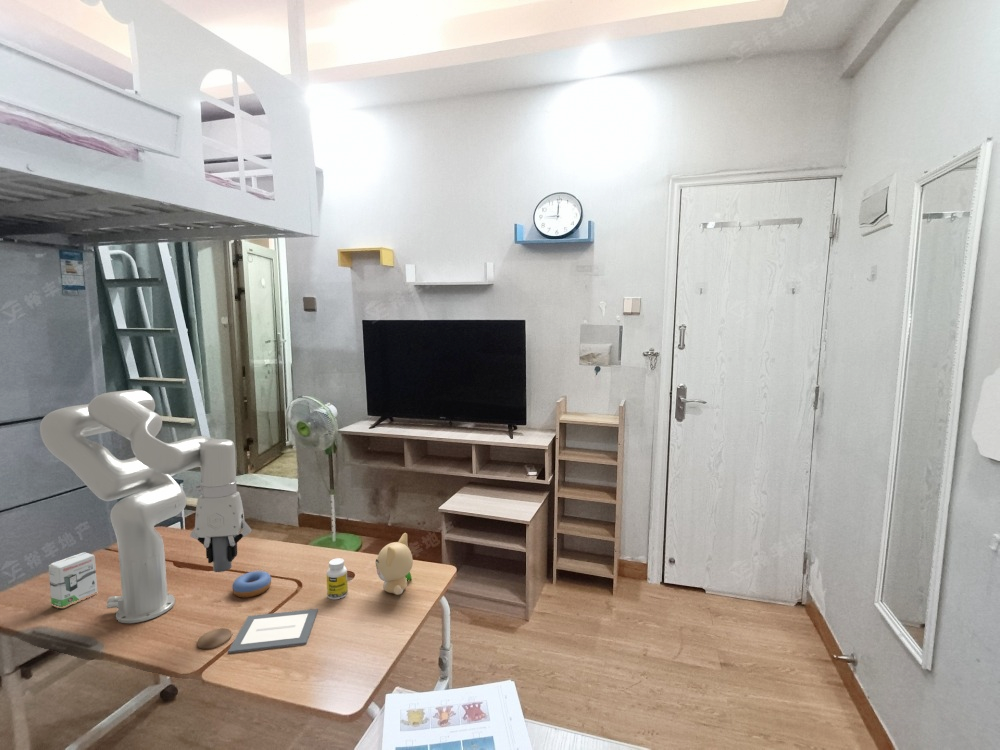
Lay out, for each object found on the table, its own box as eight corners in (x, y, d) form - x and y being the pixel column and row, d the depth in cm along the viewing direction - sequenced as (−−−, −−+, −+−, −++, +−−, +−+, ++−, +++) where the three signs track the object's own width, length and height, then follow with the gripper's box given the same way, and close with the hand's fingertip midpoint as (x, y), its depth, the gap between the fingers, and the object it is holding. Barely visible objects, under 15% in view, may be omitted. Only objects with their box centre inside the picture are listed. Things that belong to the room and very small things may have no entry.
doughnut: (260, 576, 144) (258, 562, 144) (279, 587, 139) (277, 573, 138) (226, 594, 136) (224, 579, 136) (244, 607, 131) (242, 592, 130)
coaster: (192, 650, 111) (192, 648, 111) (205, 632, 118) (204, 630, 118) (225, 647, 112) (224, 644, 112) (235, 629, 119) (235, 626, 119)
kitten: (393, 574, 146) (391, 526, 144) (423, 578, 143) (422, 529, 142) (366, 600, 131) (364, 547, 130) (399, 606, 129) (398, 552, 127)
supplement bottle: (326, 601, 131) (325, 567, 130) (328, 591, 136) (326, 558, 135) (347, 598, 132) (346, 564, 131) (348, 588, 138) (346, 555, 137)
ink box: (61, 610, 127) (57, 568, 126) (50, 607, 129) (46, 565, 128) (98, 594, 136) (95, 553, 134) (87, 590, 137) (84, 551, 136)
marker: (210, 572, 119) (208, 530, 118) (216, 564, 123) (215, 523, 122) (228, 571, 120) (226, 529, 119) (234, 563, 124) (232, 522, 123)
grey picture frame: (228, 653, 110) (227, 650, 110) (248, 617, 124) (248, 615, 124) (306, 644, 113) (306, 641, 113) (317, 610, 127) (317, 608, 127)
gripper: (175, 496, 115) (178, 569, 116) (250, 493, 118) (252, 564, 119) (189, 486, 122) (192, 555, 124) (259, 483, 125) (262, 551, 127)
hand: (222, 559), depth 121 cm, fingers closed on marker, 3 cm apart
